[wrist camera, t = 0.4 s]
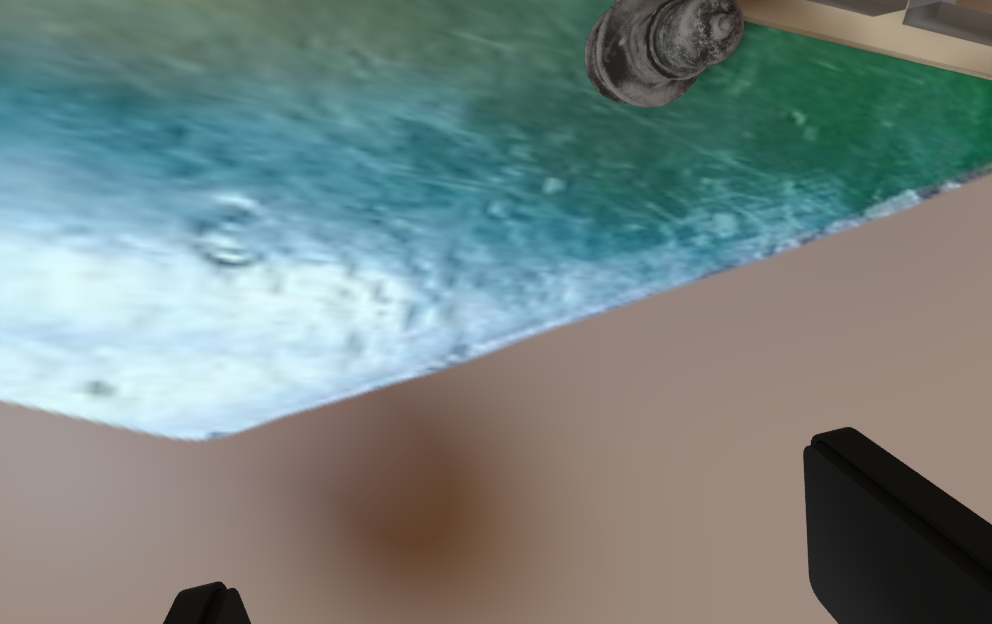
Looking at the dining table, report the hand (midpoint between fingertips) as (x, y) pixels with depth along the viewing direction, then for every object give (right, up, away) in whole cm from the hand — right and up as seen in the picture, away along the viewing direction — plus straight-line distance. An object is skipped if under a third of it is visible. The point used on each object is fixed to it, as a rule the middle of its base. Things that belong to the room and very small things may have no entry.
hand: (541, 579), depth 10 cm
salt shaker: (+7, +19, +26) cm, 33 cm away
